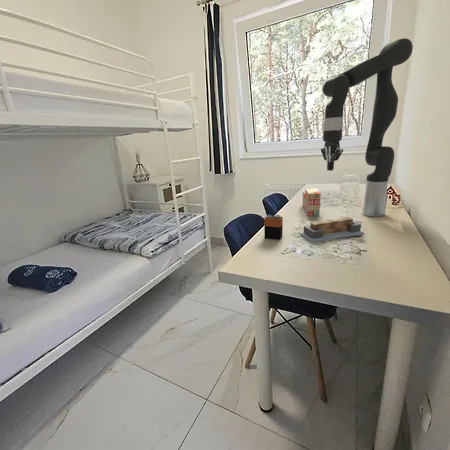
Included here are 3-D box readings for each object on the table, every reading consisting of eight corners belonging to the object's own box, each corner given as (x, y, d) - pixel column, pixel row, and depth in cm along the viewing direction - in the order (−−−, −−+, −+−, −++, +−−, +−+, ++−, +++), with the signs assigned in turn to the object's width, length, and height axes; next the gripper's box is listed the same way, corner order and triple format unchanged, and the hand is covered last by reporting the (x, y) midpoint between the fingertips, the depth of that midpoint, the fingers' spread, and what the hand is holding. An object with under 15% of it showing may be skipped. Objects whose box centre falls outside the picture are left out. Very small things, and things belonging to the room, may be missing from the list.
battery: (279, 240, 105) (280, 217, 101) (264, 238, 108) (263, 216, 104) (282, 236, 108) (282, 214, 105) (267, 234, 111) (267, 213, 108)
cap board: (348, 227, 114) (349, 218, 112) (363, 233, 105) (364, 224, 104) (300, 234, 109) (300, 225, 108) (311, 242, 101) (312, 232, 99)
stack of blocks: (302, 205, 153) (302, 185, 149) (312, 205, 152) (313, 185, 148) (307, 216, 133) (308, 193, 129) (319, 215, 132) (321, 192, 128)
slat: (347, 227, 110) (348, 217, 109) (351, 230, 108) (353, 218, 106) (310, 233, 107) (310, 222, 105) (314, 236, 104) (314, 224, 102)
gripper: (316, 130, 113) (314, 169, 119) (335, 129, 101) (332, 172, 107) (331, 129, 115) (328, 168, 120) (351, 128, 102) (347, 171, 108)
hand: (330, 170), depth 113 cm, fingers closed
